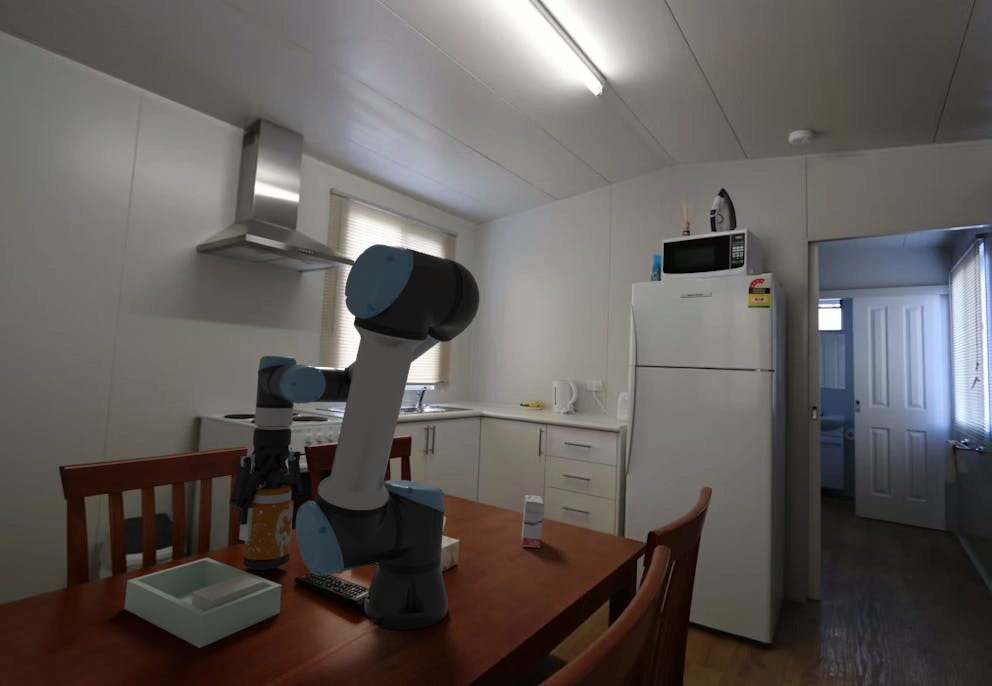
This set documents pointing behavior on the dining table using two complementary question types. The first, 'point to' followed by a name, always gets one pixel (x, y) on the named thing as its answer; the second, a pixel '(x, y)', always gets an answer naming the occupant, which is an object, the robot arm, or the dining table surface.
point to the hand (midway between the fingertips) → (265, 534)
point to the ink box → (532, 520)
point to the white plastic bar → (225, 592)
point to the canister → (270, 523)
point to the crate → (172, 610)
